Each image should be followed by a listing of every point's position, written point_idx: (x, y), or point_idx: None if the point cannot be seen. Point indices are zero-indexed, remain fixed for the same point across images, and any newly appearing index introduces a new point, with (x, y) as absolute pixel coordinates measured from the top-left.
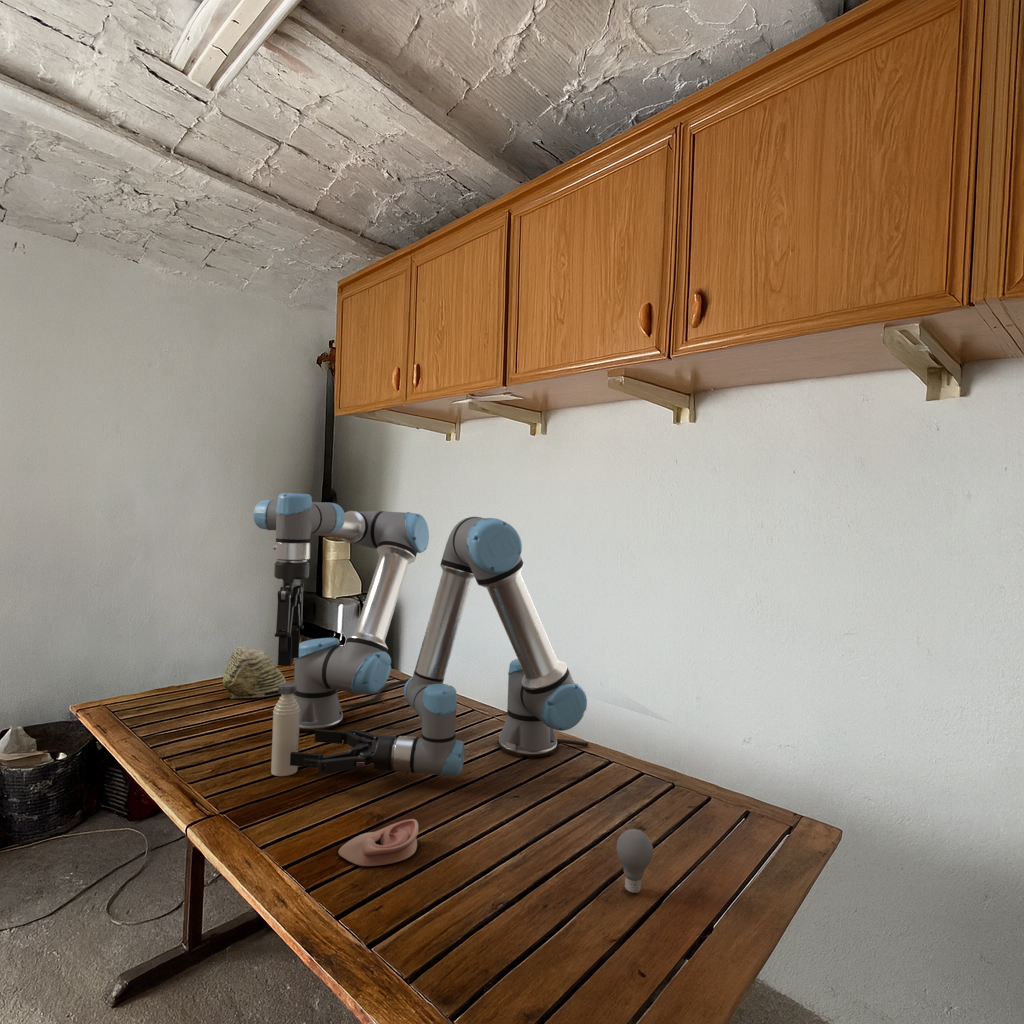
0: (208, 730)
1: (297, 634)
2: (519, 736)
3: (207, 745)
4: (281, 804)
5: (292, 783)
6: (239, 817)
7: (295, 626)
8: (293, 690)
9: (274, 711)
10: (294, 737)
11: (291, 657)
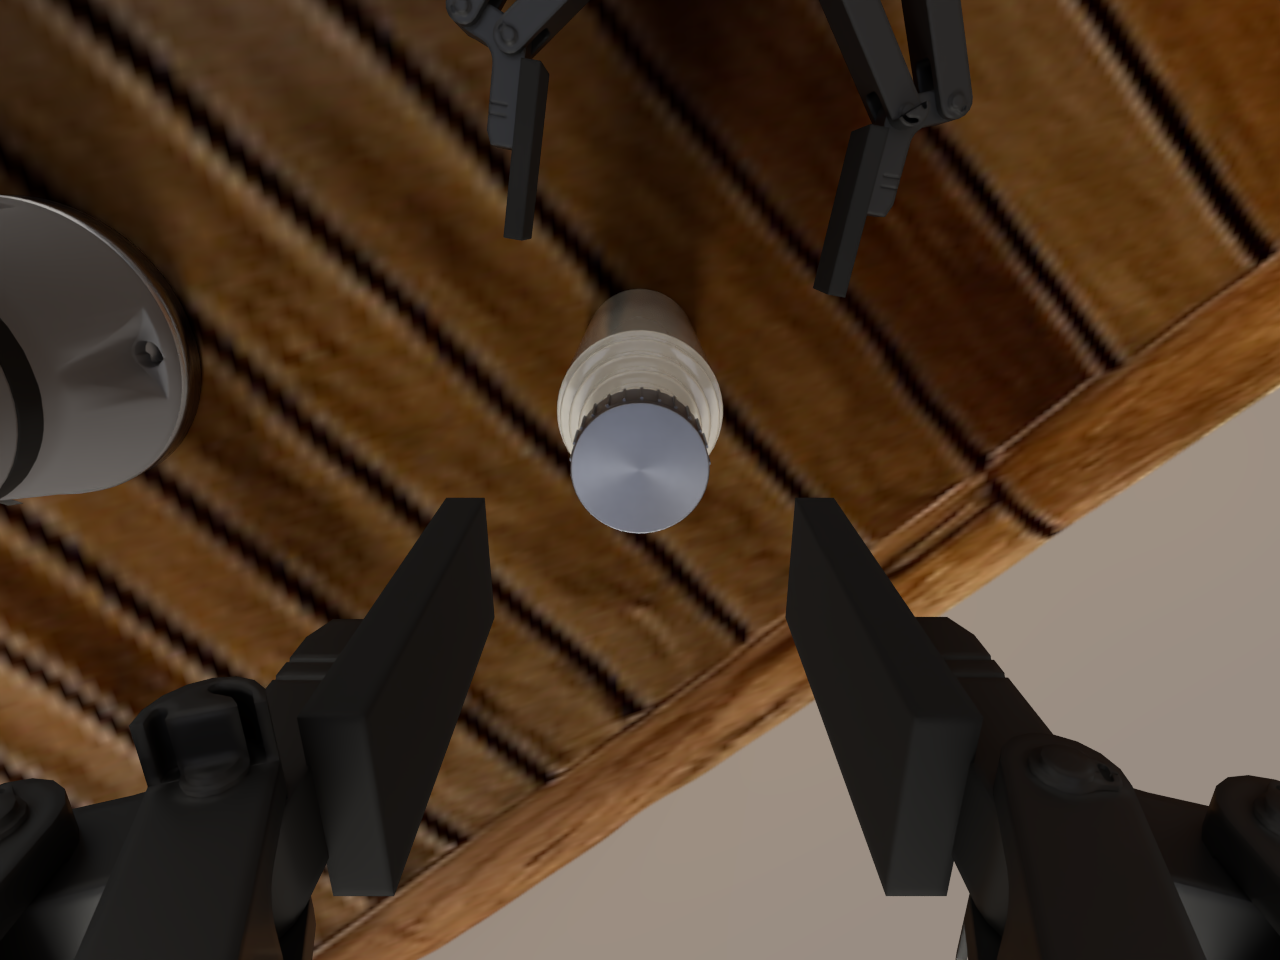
0: None
1: (395, 687)
2: None
3: None
4: (947, 273)
5: (762, 278)
6: (1026, 397)
7: (284, 844)
8: (677, 404)
9: None
10: (681, 322)
11: (488, 568)
